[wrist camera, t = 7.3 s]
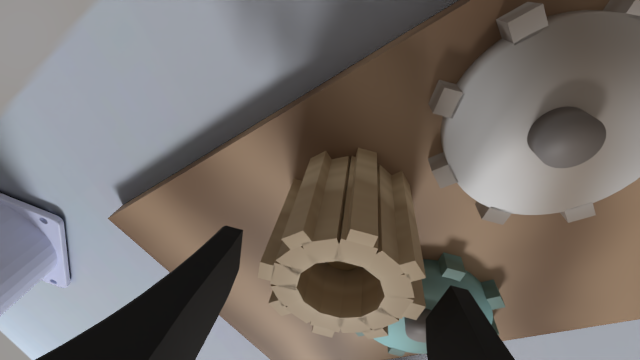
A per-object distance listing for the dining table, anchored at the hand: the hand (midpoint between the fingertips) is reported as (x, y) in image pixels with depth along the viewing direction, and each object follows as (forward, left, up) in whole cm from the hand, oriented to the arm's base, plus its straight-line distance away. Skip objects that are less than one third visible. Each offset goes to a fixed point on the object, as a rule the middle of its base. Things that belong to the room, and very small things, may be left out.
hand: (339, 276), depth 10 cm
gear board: (+3, -2, -6) cm, 7 cm away
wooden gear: (0, 0, -4) cm, 4 cm away
